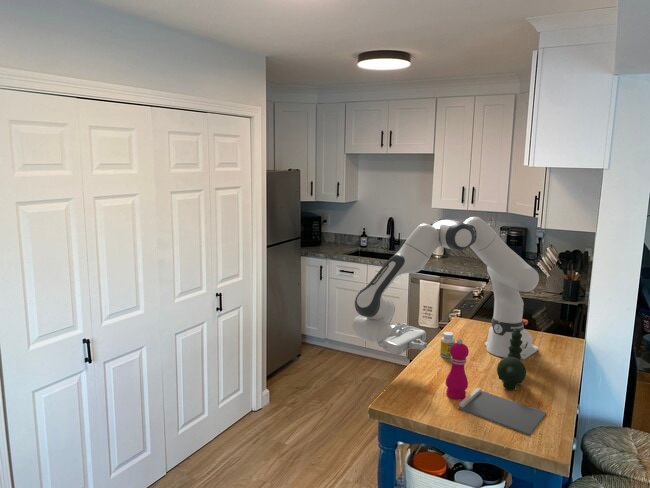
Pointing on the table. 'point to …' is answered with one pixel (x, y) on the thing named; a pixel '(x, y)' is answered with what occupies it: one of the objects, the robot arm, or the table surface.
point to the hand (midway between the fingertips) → (425, 346)
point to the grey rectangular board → (504, 412)
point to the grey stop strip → (470, 397)
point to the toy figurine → (512, 363)
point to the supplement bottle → (446, 344)
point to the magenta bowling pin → (457, 372)
